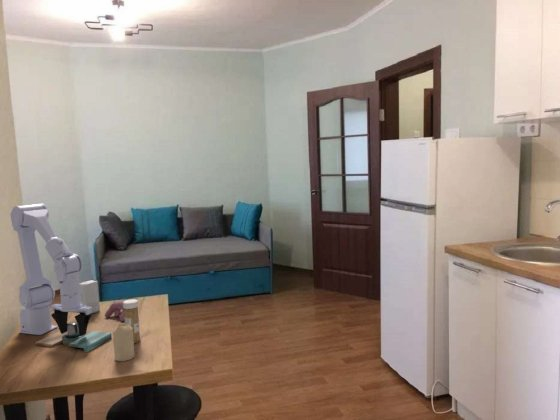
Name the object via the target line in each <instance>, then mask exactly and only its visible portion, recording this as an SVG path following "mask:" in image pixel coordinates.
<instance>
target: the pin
mask: <svg viewBox="0 0 560 420" xmlns="http://www.w3.org/2000/svg"><path fill="white" fill-rule="evenodd" d="M67 332H68V339H71V338H77V337H79V336H80V334H79V328H78V324H77V321H72V322H71V321H70V322H67Z"/></svg>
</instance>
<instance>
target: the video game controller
mask: <svg viewBox="0 0 560 420" xmlns="http://www.w3.org/2000/svg"><path fill="white" fill-rule="evenodd" d="M123 302H124V301H121V300H119V301H113V303H111V304H110V306H109V307H108V309H107V310H106V311H105V313H104V317H105V318H110V317H111V316H112V315H113V314H114V316H115V317H119V320H120V321H121V322H125V319H124V317H125V316H124V308H123Z"/></svg>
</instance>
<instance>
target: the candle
mask: <svg viewBox="0 0 560 420" xmlns="http://www.w3.org/2000/svg"><path fill="white" fill-rule="evenodd" d="M112 335H113V336H112V338H113V351H114V352H113V353H114V360H115V361H118V362H126V361H129V360H132V359H134V357H135V345H134V344H135V343H134V341H133V328H132V327H131V326H130V325H128V324H125V322H124V323H122V324H121V323H120V324H119V323H118V325H117V326H116V327H115V328H114V329H113V330H112Z"/></svg>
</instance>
